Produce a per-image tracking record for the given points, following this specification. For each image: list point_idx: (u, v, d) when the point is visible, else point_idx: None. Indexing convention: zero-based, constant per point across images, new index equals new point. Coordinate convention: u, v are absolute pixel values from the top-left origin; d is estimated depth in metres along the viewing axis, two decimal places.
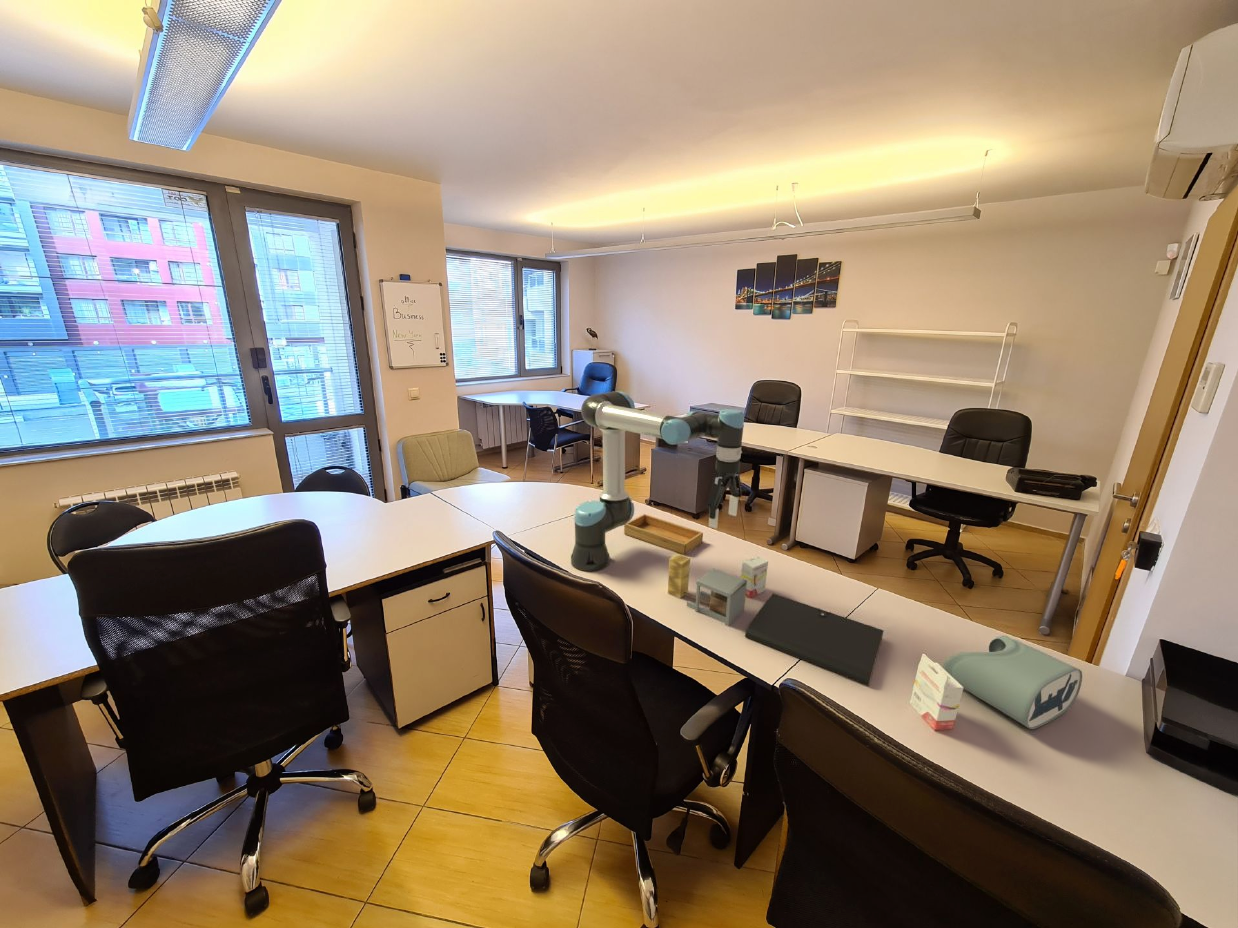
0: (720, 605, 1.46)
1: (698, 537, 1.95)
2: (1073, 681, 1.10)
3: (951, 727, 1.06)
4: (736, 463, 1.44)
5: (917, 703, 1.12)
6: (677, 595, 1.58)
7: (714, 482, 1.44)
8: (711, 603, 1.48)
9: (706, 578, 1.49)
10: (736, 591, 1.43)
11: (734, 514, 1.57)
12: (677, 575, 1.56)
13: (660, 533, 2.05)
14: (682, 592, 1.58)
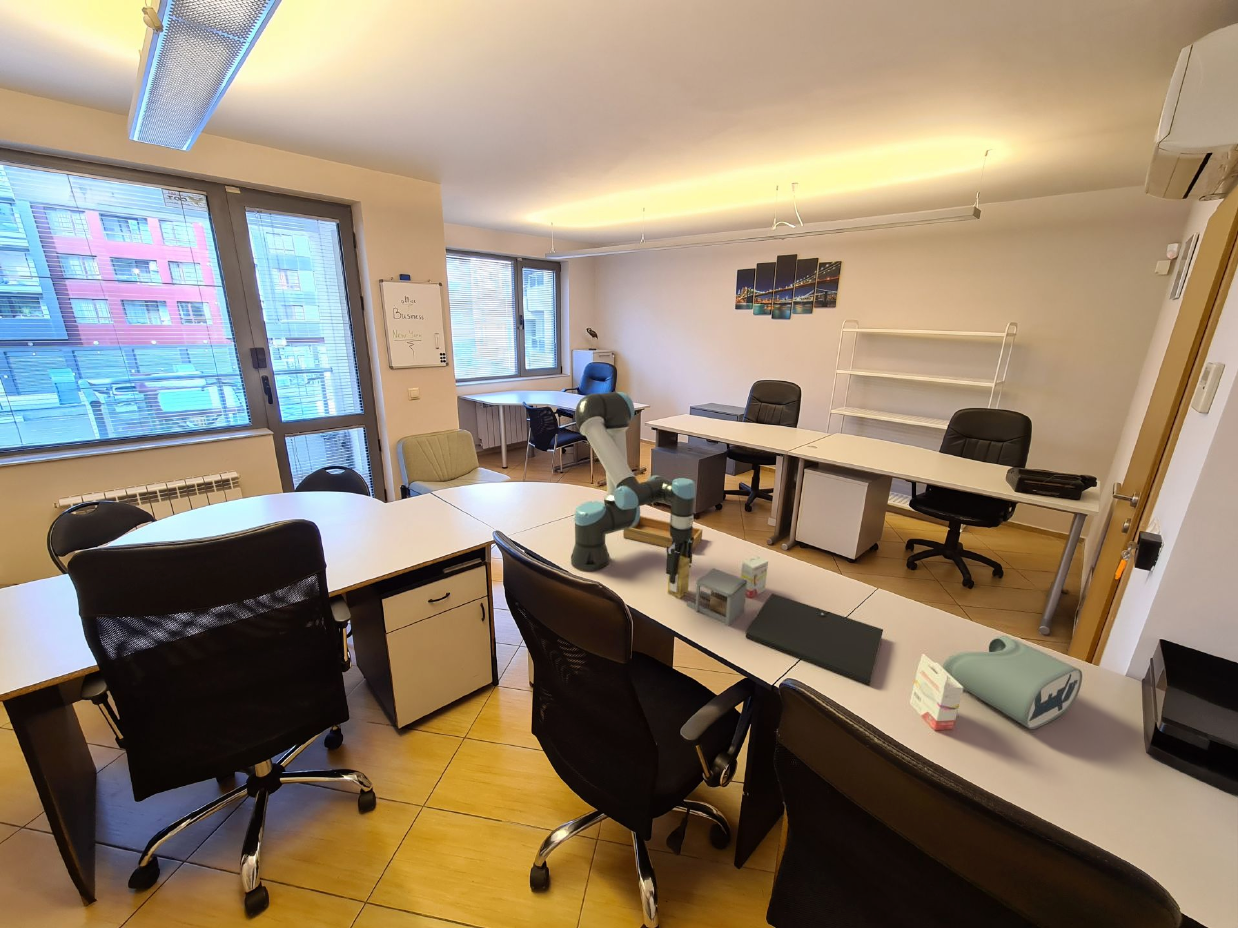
0: (720, 605, 1.46)
1: (699, 534, 1.98)
2: (1073, 681, 1.10)
3: (951, 727, 1.06)
4: (688, 530, 1.51)
5: (916, 703, 1.12)
6: (677, 595, 1.58)
7: (668, 552, 1.51)
8: (711, 603, 1.48)
9: (706, 578, 1.49)
10: (736, 591, 1.43)
11: None
12: None
13: (659, 533, 2.05)
14: (682, 592, 1.58)
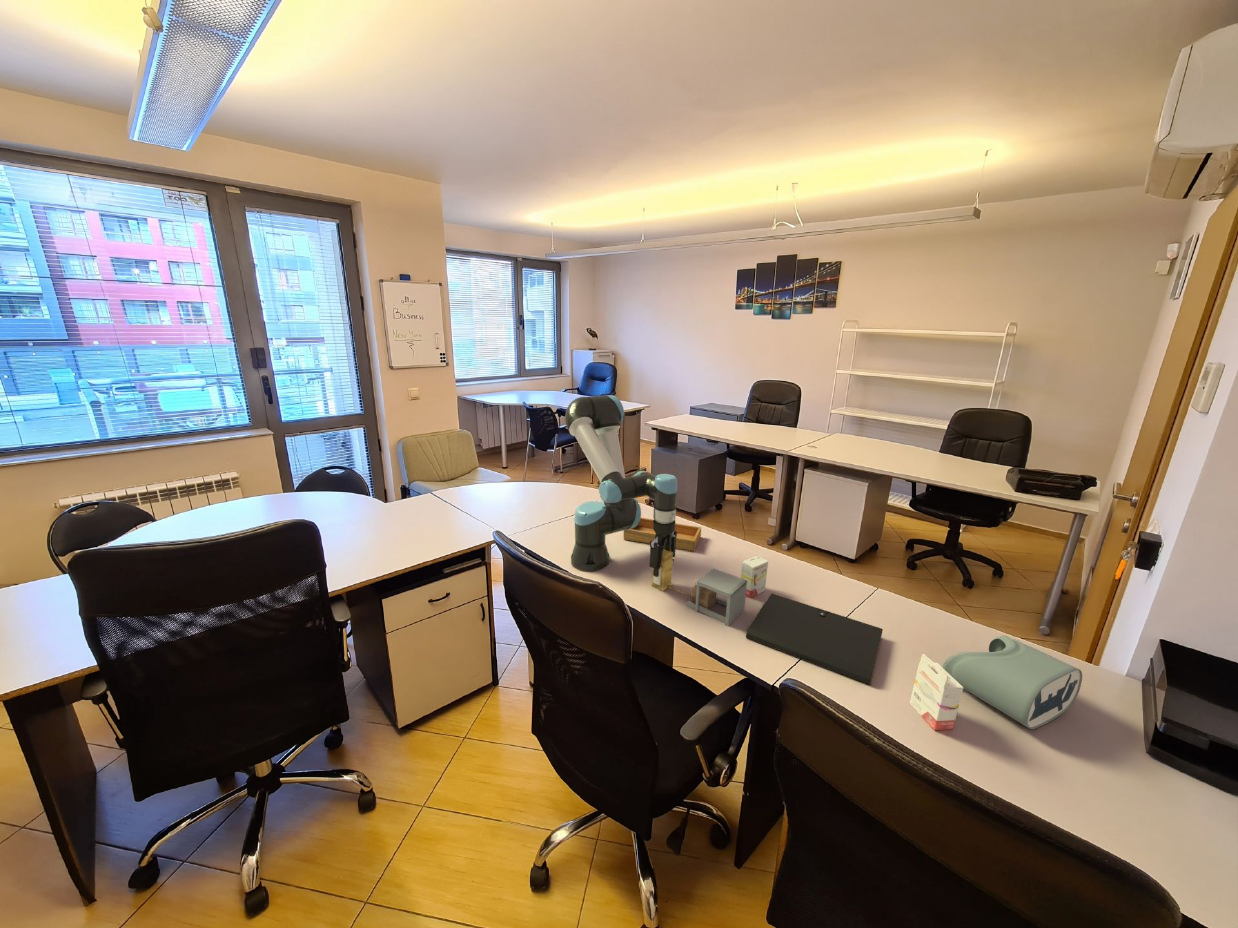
0: (701, 597, 1.51)
1: (699, 532, 1.99)
2: (1073, 681, 1.10)
3: (951, 727, 1.06)
4: (671, 524, 1.55)
5: (917, 703, 1.12)
6: (660, 588, 1.62)
7: (651, 546, 1.56)
8: (692, 595, 1.53)
9: (706, 578, 1.49)
10: (736, 591, 1.43)
11: None
12: None
13: None
14: (666, 585, 1.62)
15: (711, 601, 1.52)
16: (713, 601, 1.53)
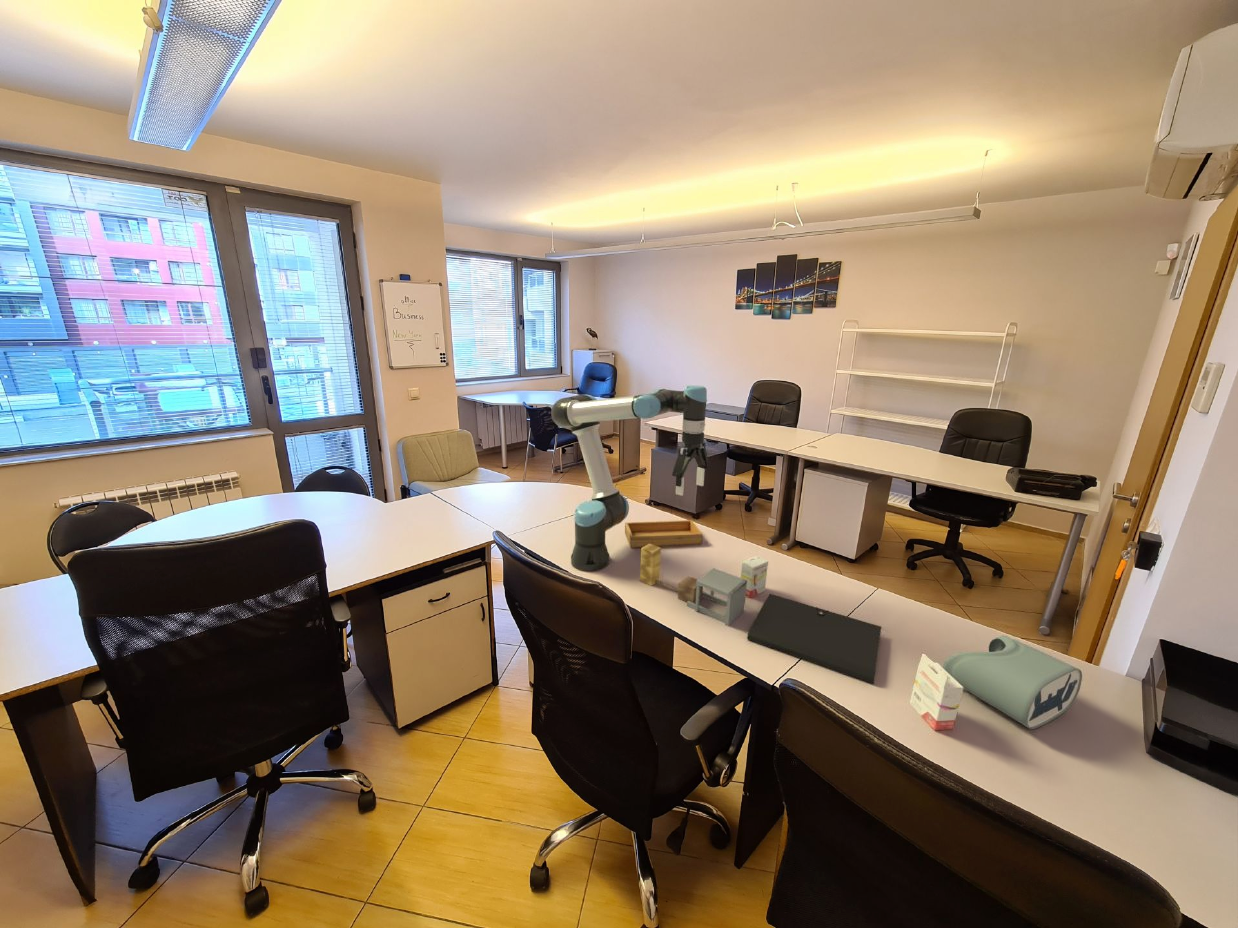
0: (687, 591, 1.54)
1: None
2: (1073, 681, 1.10)
3: (951, 727, 1.06)
4: (700, 435, 1.57)
5: (917, 703, 1.12)
6: (649, 583, 1.65)
7: (679, 452, 1.56)
8: (679, 589, 1.56)
9: (706, 578, 1.49)
10: (736, 591, 1.43)
11: (701, 484, 1.69)
12: (648, 564, 1.63)
13: (655, 534, 2.03)
14: (654, 580, 1.66)
15: None
16: None
